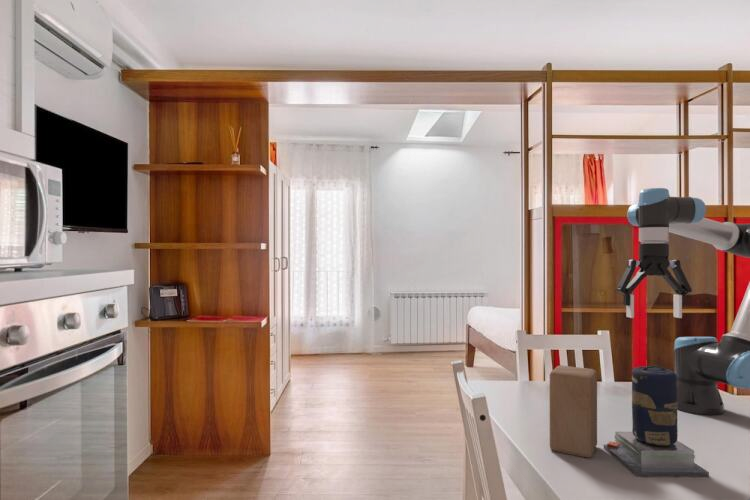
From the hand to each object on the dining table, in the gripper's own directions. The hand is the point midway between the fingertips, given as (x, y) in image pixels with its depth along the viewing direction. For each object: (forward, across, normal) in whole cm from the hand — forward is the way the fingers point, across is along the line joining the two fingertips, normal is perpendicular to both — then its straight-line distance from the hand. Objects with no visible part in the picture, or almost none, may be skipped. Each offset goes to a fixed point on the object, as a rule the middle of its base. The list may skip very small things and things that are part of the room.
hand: (653, 317), depth 140 cm
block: (+32, +29, +14) cm, 45 cm away
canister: (+27, +13, +22) cm, 37 cm away
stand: (+32, +13, +22) cm, 41 cm away
